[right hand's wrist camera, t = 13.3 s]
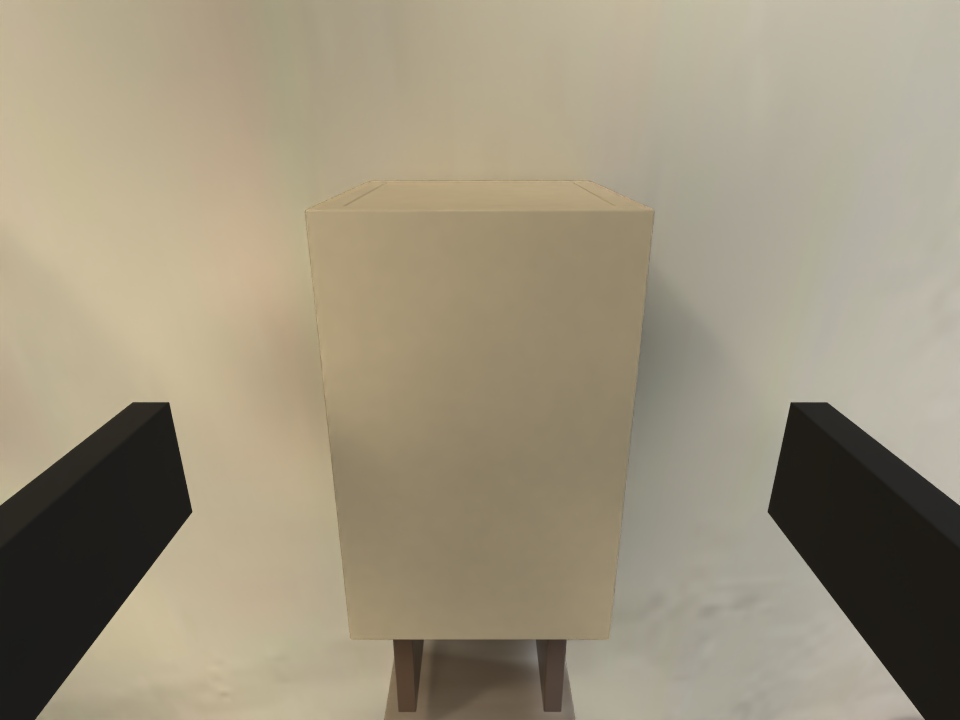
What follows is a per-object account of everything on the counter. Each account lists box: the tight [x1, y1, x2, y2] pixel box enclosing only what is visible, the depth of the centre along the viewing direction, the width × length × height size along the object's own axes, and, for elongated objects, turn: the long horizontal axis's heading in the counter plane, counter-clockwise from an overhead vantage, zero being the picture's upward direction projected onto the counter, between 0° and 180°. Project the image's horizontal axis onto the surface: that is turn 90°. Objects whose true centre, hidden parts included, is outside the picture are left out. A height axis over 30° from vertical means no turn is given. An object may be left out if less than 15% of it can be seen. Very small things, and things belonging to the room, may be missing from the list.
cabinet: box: [305, 181, 655, 639], centre depth 25 cm, size 16×10×10 cm, turn 0°
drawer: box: [384, 639, 575, 720], centre depth 29 cm, size 21×9×8 cm, turn 0°
